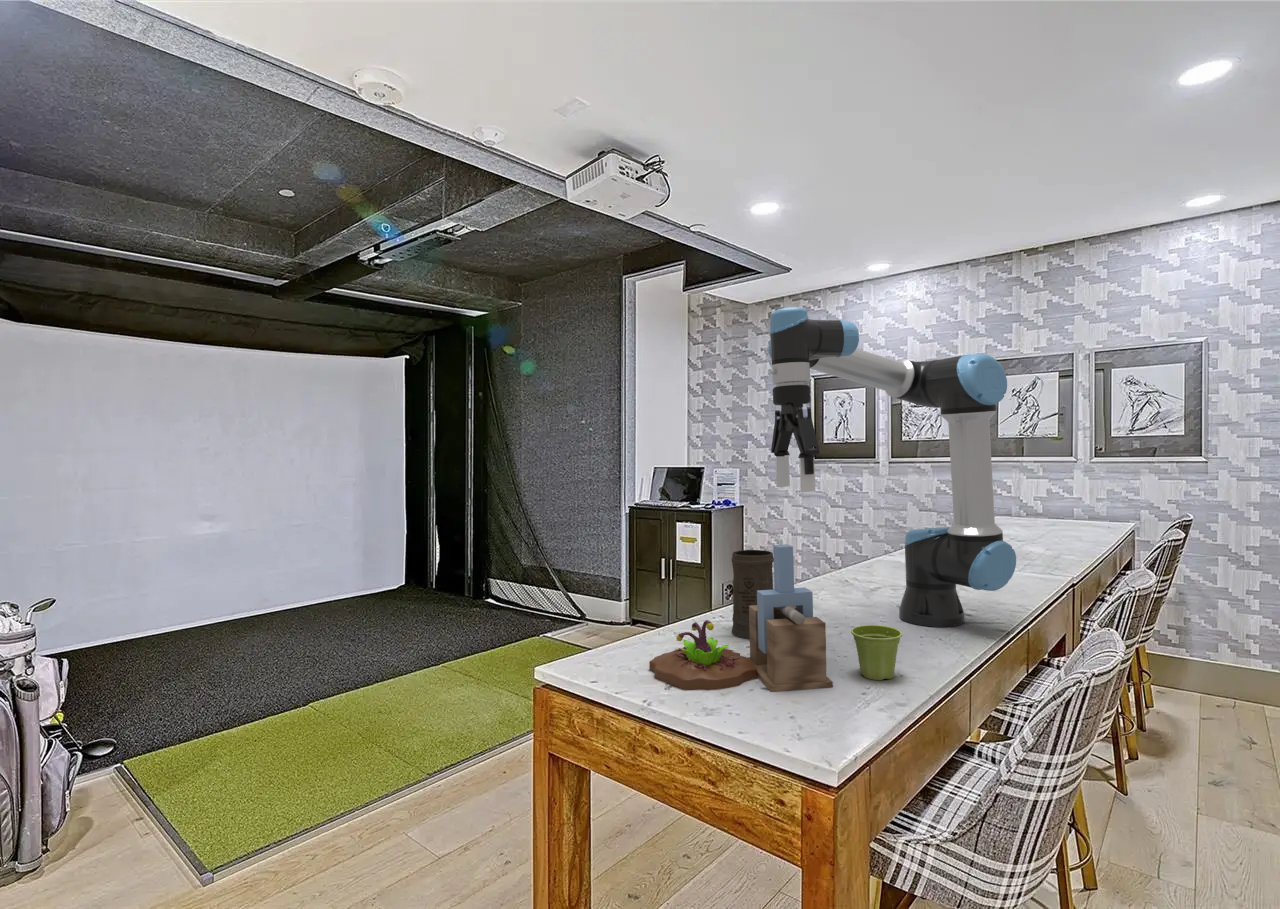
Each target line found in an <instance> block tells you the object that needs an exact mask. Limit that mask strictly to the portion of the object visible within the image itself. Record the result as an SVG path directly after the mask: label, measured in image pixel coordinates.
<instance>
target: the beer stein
mask: <svg viewBox="0 0 1280 909" xmlns="http://www.w3.org/2000/svg"><path fill="white" fill-rule="evenodd" d="M731 563H732V564H731V565H732V571H733V572H732V573H733V574H732V575H733V579H732V619H731V620H732V627H731V633H732V635H734V636H735V637H737V638H741V639H746V640H750V632H749V606H752V605H757V591H759V590H774V572H773V564H774V556H773V551H770V550H764V549H763V550H762V549H744V550H741V549H740V550H737V551H733V552H732V554H731Z"/></svg>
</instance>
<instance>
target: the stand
mask: <svg viewBox="0 0 1280 909" xmlns="http://www.w3.org/2000/svg"><path fill="white" fill-rule="evenodd" d="M773 611H774V619H772V620H766V634H767V654H764V653H763V652H762V651H761V650H760V649H759V644H758V612H757V605H752V606H749V632H750V639H749V656H746V657H747V658H748V659H749V661H750V662H751V663H753V664H754V666H755V667H756V669H757V679H759V680H760V681H761V683H762V684H763V685H764V686H765V687H766V688H767V689H768V690H769V692H771V693H772V692H786V691H796V690H797V691H798V690H799V691H801V690H811V689H824V688H825V689H827V688H833V687H834V683H833V682H834V681H833V680H831V678H829V677H828V676H827V644H826V643H827V636H826V635H827V634H826V633H827V632H826V631H827V630H826V622H825V621H823V620H822V619H820V618H819V617H817V616H813V617H804V615H802V614H801V613H799V612H798V611H796V606H783V607H773Z"/></svg>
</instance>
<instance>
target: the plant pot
mask: <svg viewBox="0 0 1280 909" xmlns="http://www.w3.org/2000/svg"><path fill="white" fill-rule="evenodd" d="M850 632H851V634H852V635H853V640H854V641H855V646H856V651H857V657H858V658H857V659H858V663H859V664H858V665H859V670H860V674H861V675H862V676H864V678H867V679H869V680H874V681H883V680H884V679H885V680H886V679H887V680H891V679H893V678H894V677H895V671H896V670H895V669H896V662H897V653H898V646H899V644H900V640H901V638H902V636H903V632H902V631H901V630H900V629H899V628H898V629H897V628H895V627H891V626H887V625H881V624H880V625H878V624H864V625H863V624H862V625H858V626H855V627H853V628H851V629H850Z"/></svg>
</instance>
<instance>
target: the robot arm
mask: <svg viewBox="0 0 1280 909" xmlns="http://www.w3.org/2000/svg"><path fill="white" fill-rule="evenodd" d="M808 315H809V314H808V310H807V309H806V308H805V307H799V306H795V307H794V306H791V307H783V308H778V309H775V310H774V311H773V312H771V314H770V321H769V335H770V341H769V342H768V355H769V357H770V359H771V369H769V374H771V380H772V384H773V385H774V387H773V388H772V402H773V405H774V406H781V408H780V409H776V410H774V426H773V432H772V433H773V434H772V440H771V441H772V442H771V448H770V452H771V454H773V455H774V457H775V476H776V477H775V480H776V487H777V488H784V487H790V486H791V482H790V476H791V475H790V457H789V456H790V455H791V454H790V452H789V451H788V450H789V447H790V444H791V440H792V436H793V437H794V440H795V442H796V445H797V448H798V450H799V453H798V459H799V482H800V483H799V485H800V488H799V489H800V493H801V492H802V493H803V492H804V493H805V492H816V475H815V472H816V471H815V458H816V455H819V454H820V447H819V443H818V440H817V436H816V432H815V427H814V423H813V418H812V417H813V416H812V409H811V407H810V406H804V405H808V404H810V403H811V401H812V400H811V386H810V385H808V383H810V382H811V372H810V371H811V370H813V371H817V372H819V373H824V374H827V375H831V376H834V377H838V378H839V379H843V380H847V381H851V382H854V383H857V384H861V385H865V386H868V387H871V388H875V389H879V390H882V391H885V393H886V394H887V395H888V396H889V397H890V398H895V399H898V400H901V401H905V402H908V403H911V404H914V405H919V406H923V407H927V408H933V409H937V408H938V409H939V408H940V416H941V418H943V419H944V420H945V421H946V422H947V423H948V439H949V440H948V441H949V456H950V460H949V461H950V475H951V476H950V477H951V494H952V514H953V524H952V525H951V526H950V527H949V526H948V527H929V528H926V527H925V528H917V529H916V528H915V529H911V530H908V531H907V532H906V535H905V544H904V558H905V561H904V562H905V590H904V593H903V596H902V599H901V602H900V605H899V609H898V612H899V614H898V615H899V616H898V617H899V619H900V620H901V621H904V622H905V623H909V624H913V625H918V626H919V625H920V626H924V627H926V626H927V627H933V628H934V627H937V628H939V627H940V628H941V627H943V628H944V627H946V628H947V627H956V626H960V625H963V624H965V612H964V608H963V606H962V603H961V600H960V597H959V594H958V592H957V586H958V585H959V586H962V587H963V586H964V587H967V588H972V589H973V590H977V591H981V590H982V591H987V592H994V591H998V590H1000V589H1002V588H1004V587H1005V586H1006V585H1008V584H1009V581H1010V580H1011V579H1012V577H1013V575H1014V574H1015V571H1016V566H1017V554H1016V551H1015V548H1013V547H1012V545H1011V544H1010V543H1008V542H1006V541H1005V540H1004V535H1003V529H1001V527H999V525H997V524H996V523H995V521H996V520H995V505H994V502H995V501H994V485H993V484H994V482H993V465H992V464H993V463H992V447H991V443H992V442H991V426H990V424H991V423H990V420H991V418H992V417H993V416H994V415H995V414H996V413H997V404H999V403H1000V402H1001V401H1002V400H1004V397H1005V394H1006V393H1007V390H1008V389H1007V388H1008V380H1007V379H1008V377H1007V375H1006V372H1005V370H1004V367H1003V365H1002V364H1001V363H1000V362H998V360H997V359H996V358H994V357H993V356H991V355H989V354H985V353H968V354H964V355H960V356H952V357H945V358H942V359H941V358H940V359H933V360H923V361H914V360H910V359H907V358H906V359H905V358H901V359H897V360H895V359H891V358H888V357H885V356H882V355H879V354H875V353H873V352H870V351H866V350H863V349H859V348H858V346H859V343H860V333H859V329H858V326H857V325H856V324H855V323H854V322H852V321H850V320H842V319H835V320H834V319H833V320H831V319H830V320H829V319H811V318H810V319H809V316H808Z"/></svg>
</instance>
